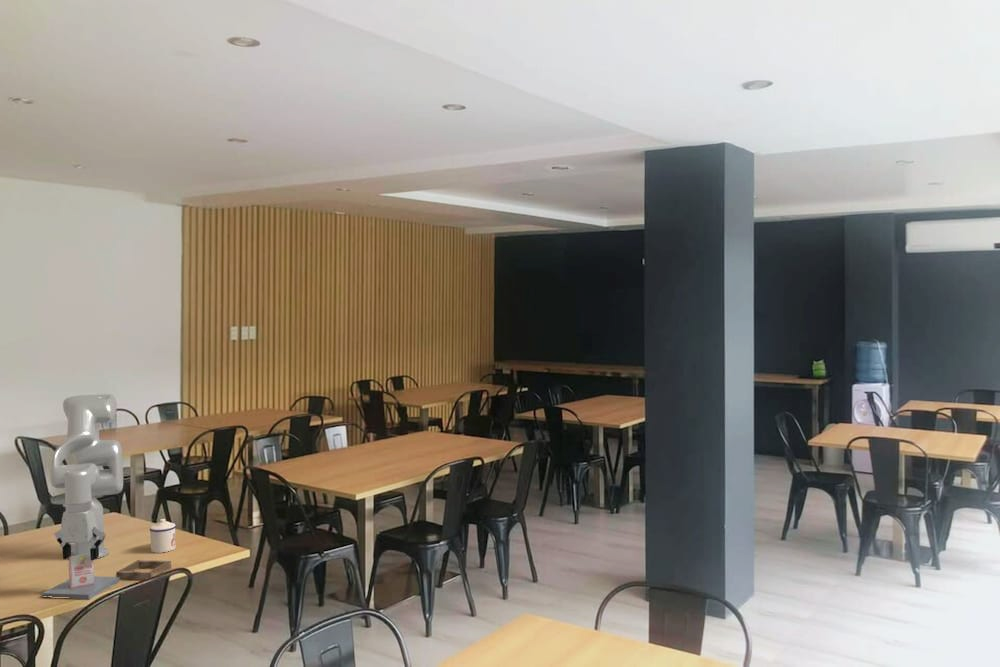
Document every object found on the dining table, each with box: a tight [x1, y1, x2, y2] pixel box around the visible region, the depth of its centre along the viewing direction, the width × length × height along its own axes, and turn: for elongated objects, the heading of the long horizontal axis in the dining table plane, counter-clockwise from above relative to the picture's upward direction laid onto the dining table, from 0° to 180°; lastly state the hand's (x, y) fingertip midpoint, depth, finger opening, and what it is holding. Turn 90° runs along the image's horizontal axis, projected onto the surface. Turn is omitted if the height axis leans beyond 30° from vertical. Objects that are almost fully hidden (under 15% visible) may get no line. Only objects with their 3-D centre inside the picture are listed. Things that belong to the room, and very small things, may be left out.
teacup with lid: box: [149, 518, 177, 554], centre depth 299 cm, size 12×9×12 cm
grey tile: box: [41, 575, 121, 600], centre depth 257 cm, size 16×16×2 cm
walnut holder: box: [115, 559, 172, 581], centre depth 271 cm, size 12×12×2 cm
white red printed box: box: [68, 553, 95, 589], centre depth 256 cm, size 4×7×10 cm, turn 124°
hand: (80, 558), depth 257 cm, fingers open, 9 cm apart
